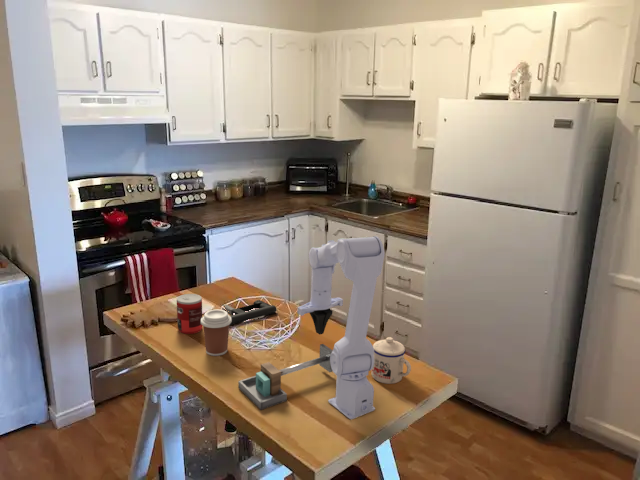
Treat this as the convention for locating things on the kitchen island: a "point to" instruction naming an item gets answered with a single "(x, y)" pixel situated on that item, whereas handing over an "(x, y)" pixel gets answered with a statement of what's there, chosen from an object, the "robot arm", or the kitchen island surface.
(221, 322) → the coffee cup
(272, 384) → the bearing block
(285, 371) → the shaft
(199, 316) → the canned food
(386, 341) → the teacup with lid
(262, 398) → the tray
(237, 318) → the door handle
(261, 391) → the block
